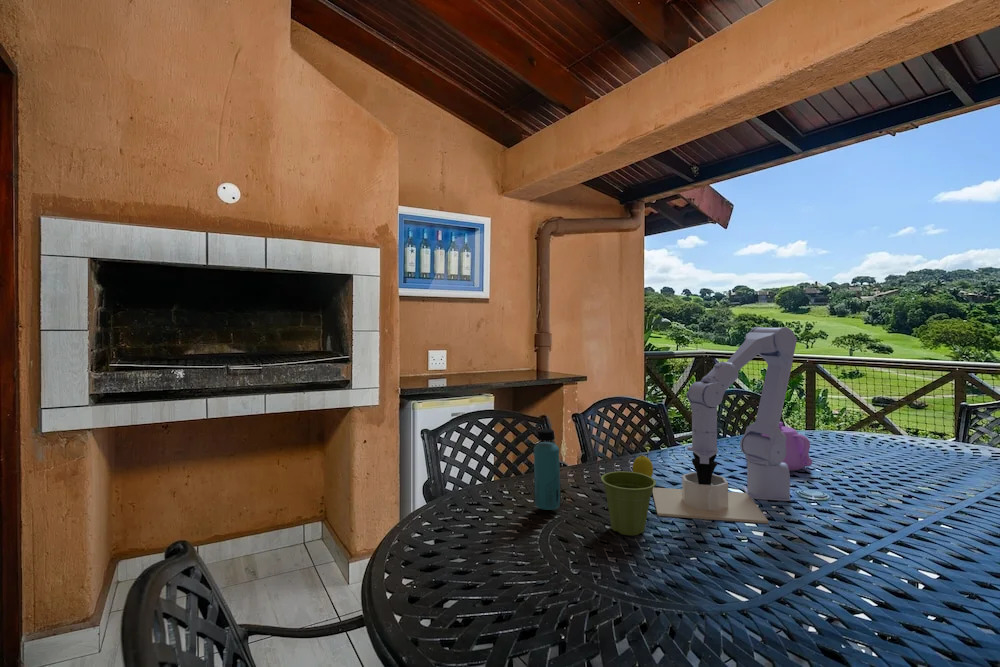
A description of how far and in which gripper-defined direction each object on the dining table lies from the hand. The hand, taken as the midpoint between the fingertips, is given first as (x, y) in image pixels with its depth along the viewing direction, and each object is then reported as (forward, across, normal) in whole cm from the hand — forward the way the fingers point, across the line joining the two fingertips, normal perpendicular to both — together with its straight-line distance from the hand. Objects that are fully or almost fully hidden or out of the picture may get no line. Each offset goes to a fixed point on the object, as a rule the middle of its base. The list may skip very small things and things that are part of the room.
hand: (704, 484), depth 122 cm
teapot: (+5, -41, +19) cm, 46 cm away
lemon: (+5, -11, -16) cm, 21 cm away
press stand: (+5, 0, 0) cm, 5 cm away
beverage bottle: (+5, +17, -36) cm, 40 cm away
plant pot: (+5, +21, -16) cm, 27 cm away
